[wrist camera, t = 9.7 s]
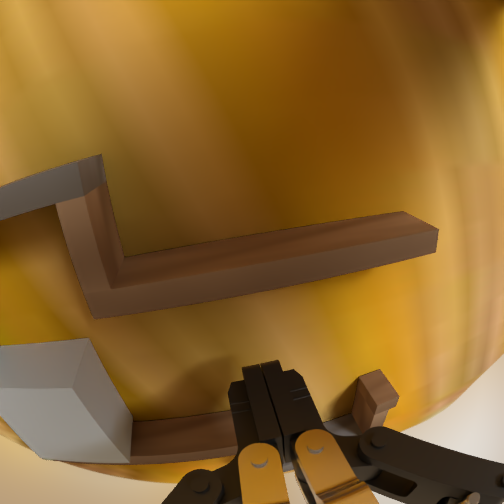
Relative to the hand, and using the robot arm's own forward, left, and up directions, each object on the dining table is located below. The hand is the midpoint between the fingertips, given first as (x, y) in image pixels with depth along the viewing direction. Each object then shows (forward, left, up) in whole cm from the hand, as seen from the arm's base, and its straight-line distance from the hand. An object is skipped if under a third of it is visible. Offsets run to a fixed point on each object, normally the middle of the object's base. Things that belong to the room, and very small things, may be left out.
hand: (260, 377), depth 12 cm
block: (+1, -10, -3) cm, 11 cm away
